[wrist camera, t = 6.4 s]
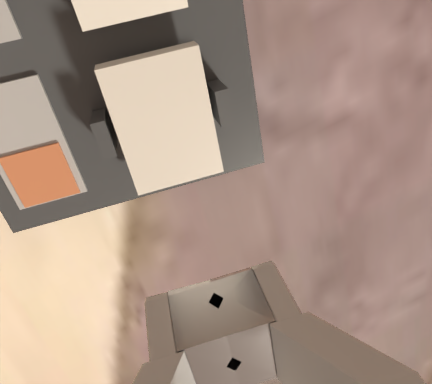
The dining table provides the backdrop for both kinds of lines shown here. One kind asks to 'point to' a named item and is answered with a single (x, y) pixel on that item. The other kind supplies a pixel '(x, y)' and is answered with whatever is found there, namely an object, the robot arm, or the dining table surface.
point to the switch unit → (103, 102)
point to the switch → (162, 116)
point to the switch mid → (120, 11)
